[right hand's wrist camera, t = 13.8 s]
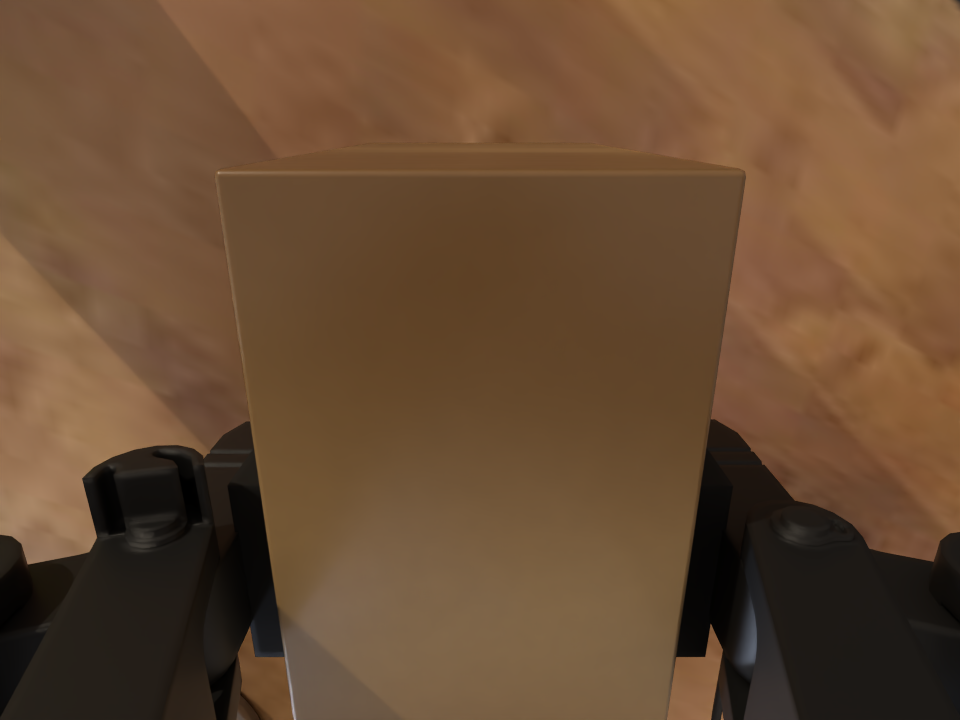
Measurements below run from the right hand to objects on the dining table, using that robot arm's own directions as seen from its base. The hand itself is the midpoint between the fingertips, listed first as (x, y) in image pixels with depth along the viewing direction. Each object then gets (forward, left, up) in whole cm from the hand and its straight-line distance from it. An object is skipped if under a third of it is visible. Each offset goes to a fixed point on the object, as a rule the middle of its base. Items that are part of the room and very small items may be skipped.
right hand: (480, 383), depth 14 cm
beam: (-15, -27, -1) cm, 31 cm away
